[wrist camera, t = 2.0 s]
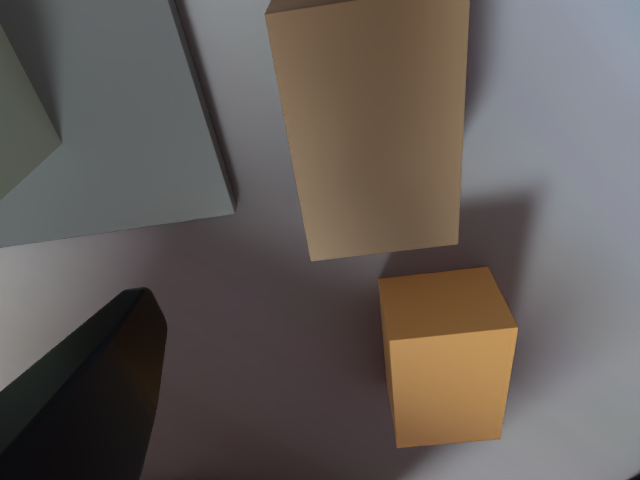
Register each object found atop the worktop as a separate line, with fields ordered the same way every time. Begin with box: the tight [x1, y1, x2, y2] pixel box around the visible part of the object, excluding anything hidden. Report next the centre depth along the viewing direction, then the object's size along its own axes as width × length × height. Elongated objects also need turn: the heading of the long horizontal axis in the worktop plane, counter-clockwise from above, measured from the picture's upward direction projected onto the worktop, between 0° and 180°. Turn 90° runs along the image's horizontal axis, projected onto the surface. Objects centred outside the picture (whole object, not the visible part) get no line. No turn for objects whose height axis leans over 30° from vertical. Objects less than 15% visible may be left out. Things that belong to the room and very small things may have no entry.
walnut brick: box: [265, 0, 470, 261], centre depth 13 cm, size 4×7×4 cm, turn 8°
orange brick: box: [378, 267, 518, 448], centre depth 20 cm, size 4×7×4 cm, turn 8°
